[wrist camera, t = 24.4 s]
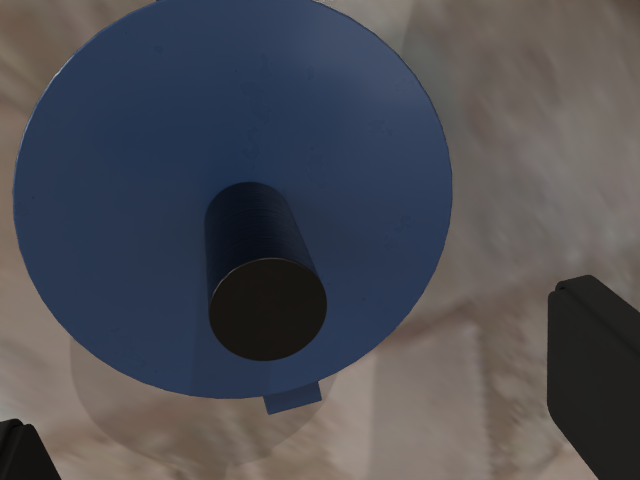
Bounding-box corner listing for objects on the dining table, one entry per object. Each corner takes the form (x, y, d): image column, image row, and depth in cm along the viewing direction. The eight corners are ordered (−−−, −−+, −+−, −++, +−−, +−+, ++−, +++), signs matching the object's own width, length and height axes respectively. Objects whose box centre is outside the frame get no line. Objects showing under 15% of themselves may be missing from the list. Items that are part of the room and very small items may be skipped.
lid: (420, -54, 19) (540, -71, 12) (454, 328, 25) (545, 448, 19) (-59, 39, 17) (-208, 75, 11) (106, 421, 24) (74, 587, 17)
